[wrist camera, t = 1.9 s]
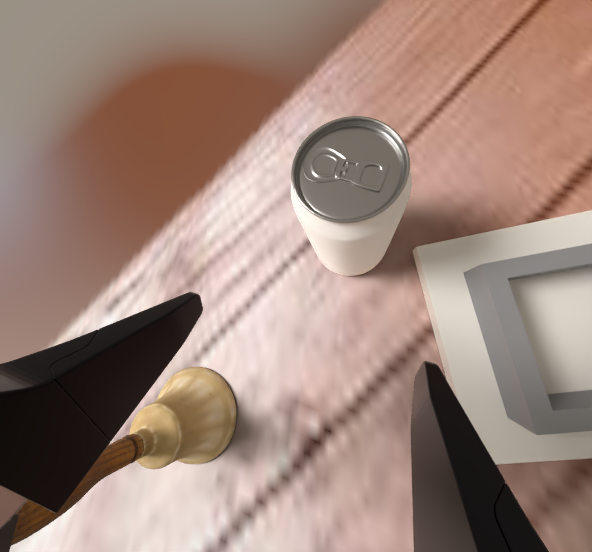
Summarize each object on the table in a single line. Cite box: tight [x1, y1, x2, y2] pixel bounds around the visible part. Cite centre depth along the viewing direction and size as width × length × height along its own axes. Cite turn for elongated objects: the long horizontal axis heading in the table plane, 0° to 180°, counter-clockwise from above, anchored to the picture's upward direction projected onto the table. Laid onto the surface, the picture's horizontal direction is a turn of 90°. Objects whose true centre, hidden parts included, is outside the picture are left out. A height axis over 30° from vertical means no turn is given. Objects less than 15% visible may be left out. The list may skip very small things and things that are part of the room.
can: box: [291, 116, 412, 276], centre depth 18 cm, size 6×6×12 cm
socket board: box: [412, 210, 592, 464], centre depth 17 cm, size 16×16×4 cm
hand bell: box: [11, 367, 236, 545], centre depth 17 cm, size 8×8×16 cm
